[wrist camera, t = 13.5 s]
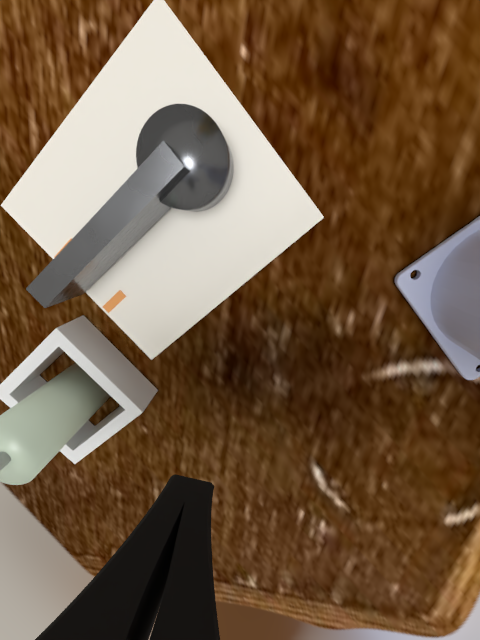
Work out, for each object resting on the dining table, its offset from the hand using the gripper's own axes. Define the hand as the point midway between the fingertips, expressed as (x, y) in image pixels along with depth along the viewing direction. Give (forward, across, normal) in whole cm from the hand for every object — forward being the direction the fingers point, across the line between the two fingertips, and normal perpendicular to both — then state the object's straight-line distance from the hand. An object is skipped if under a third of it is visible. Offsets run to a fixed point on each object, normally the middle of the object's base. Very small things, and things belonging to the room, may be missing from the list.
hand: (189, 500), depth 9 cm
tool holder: (+10, +10, +4) cm, 14 cm away
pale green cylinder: (+10, +10, +4) cm, 14 cm away
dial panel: (+10, +5, -8) cm, 14 cm away
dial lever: (+9, +6, -8) cm, 13 cm away
